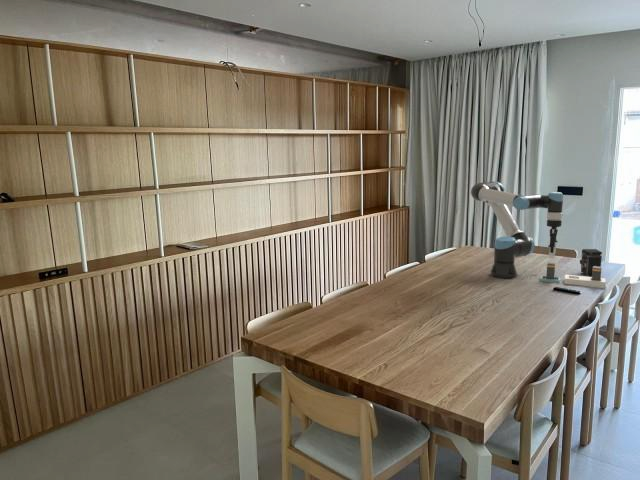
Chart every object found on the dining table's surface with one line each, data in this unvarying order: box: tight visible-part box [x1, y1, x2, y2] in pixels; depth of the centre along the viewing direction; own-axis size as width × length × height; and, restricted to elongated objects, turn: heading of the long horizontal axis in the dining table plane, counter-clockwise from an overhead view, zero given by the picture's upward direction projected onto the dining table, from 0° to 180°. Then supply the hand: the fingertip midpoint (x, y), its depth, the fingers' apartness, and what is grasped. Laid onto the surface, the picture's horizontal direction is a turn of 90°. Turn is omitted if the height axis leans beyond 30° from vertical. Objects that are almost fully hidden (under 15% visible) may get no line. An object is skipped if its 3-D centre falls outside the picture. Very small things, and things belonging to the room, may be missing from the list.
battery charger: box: [564, 266, 607, 289], centre depth 264 cm, size 20×9×10 cm, turn 61°
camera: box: [579, 248, 603, 276], centre depth 285 cm, size 10×10×15 cm
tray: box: [539, 275, 561, 284], centre depth 273 cm, size 10×8×2 cm
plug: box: [545, 262, 556, 280], centre depth 273 cm, size 4×4×10 cm
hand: (552, 255), depth 271 cm, fingers open, 13 cm apart
